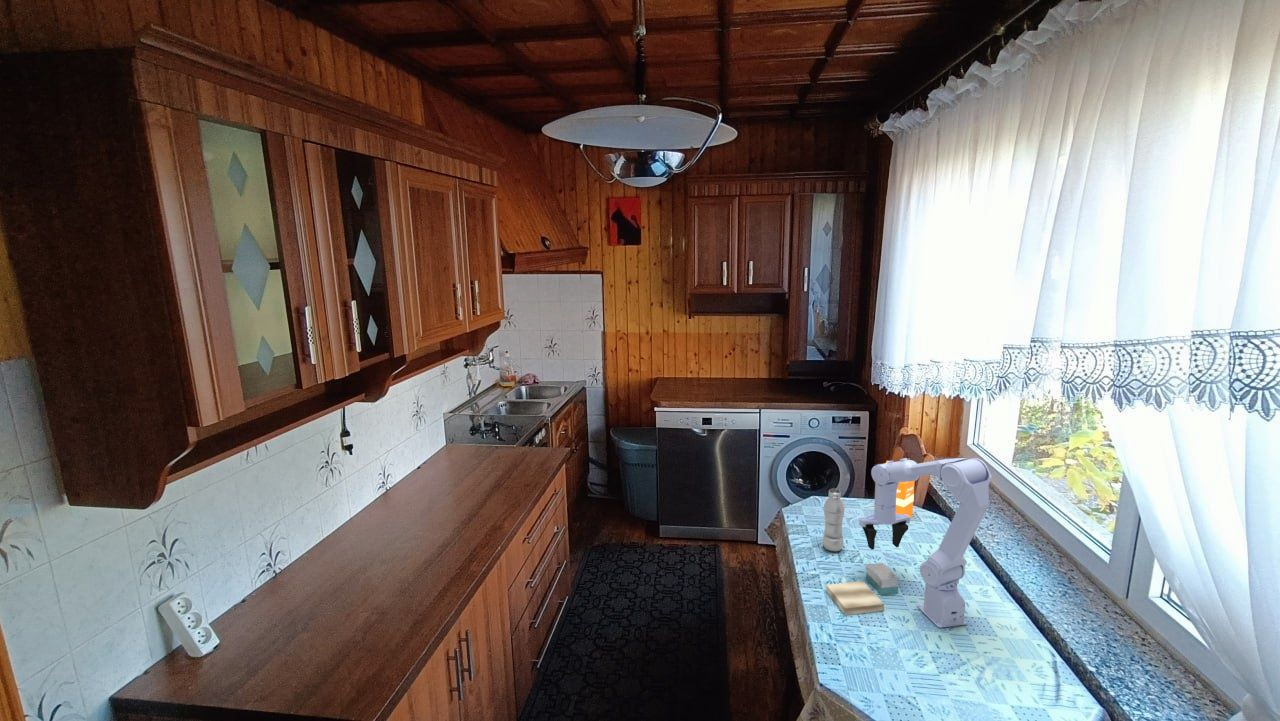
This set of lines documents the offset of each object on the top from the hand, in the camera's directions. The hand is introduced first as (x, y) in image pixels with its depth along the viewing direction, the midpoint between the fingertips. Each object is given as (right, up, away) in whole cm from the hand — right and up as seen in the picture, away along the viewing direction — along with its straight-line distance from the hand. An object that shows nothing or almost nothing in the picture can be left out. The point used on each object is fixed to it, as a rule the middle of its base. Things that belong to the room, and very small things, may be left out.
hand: (883, 546), depth 163 cm
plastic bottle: (-9, -7, +18) cm, 21 cm away
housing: (-2, -11, -3) cm, 11 cm away
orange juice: (+22, -2, +39) cm, 45 cm away
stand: (-12, -12, -9) cm, 19 cm away
